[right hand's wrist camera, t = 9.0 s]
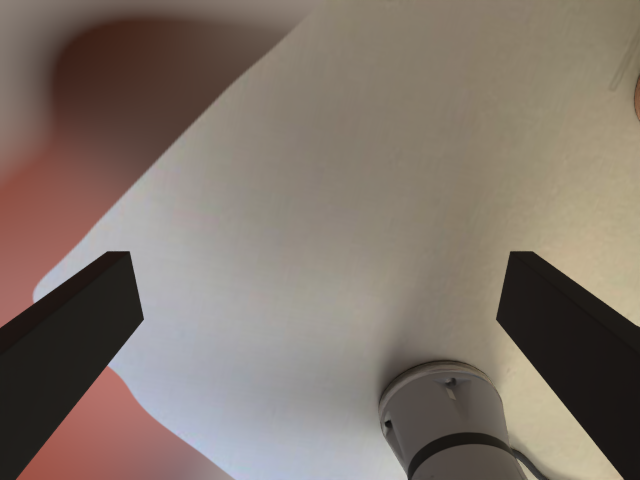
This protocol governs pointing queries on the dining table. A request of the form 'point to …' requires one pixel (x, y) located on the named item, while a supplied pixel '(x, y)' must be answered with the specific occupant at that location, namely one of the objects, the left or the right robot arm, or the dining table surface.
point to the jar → (637, 99)
